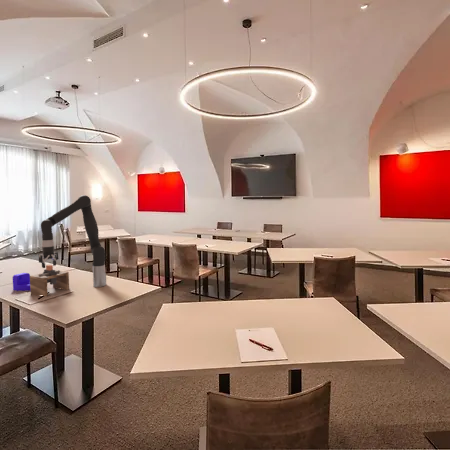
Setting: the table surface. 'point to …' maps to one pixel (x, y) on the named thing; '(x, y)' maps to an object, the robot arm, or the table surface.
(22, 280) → the bracket
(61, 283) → the shelf rack
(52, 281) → the dark grey orange block
